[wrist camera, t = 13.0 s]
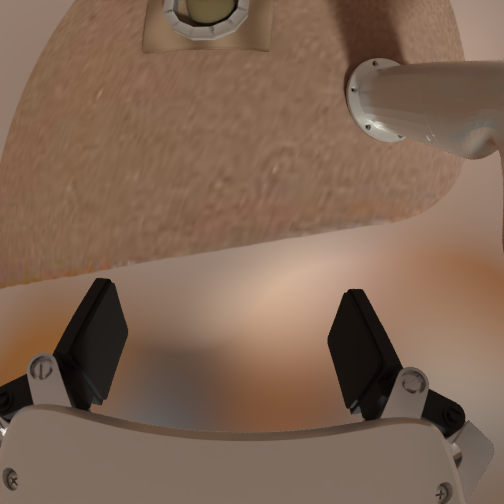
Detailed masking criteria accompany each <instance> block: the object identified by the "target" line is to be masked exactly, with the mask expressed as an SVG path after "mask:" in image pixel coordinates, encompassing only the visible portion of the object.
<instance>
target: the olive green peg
mask: <svg viewBox="0 0 504 504" xmlns="http://www.w3.org/2000/svg"><path fill="white" fill-rule="evenodd" d="M186 4H187V10H188V15H189V18H190V19H191V20H192V22H193V23H195V24H197V25H198V26H202V27H212V26H214V25H216V24H219V23H221V22H223V21H226V20H228V19H229V18H230V16H231V15H232V14H233V13H234V12H235V11H236V3H235V0H186Z"/></svg>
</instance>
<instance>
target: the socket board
mask: <svg viewBox="0 0 504 504" xmlns="http://www.w3.org/2000/svg"><path fill="white" fill-rule="evenodd" d="M235 3H236V11H235V12H234V13H233V14H232V15H231V16H230V18H229V19H228V20H226V21H223V22H221V23H219V24H216V25H214V26H212V27H202V26H198V25H197V24H195V23H193V22H192V20H191V19H190V18H189V15H188V10H187V4H186V0H149V2H148V8H147V14H146V21H145V29H144V37H143V46H142V52H143V53H145V54H146V53H154V52H164V51H177V50H196V49H231V50H251V51H263V52H269V50H270V39H271V27H272V16H273V4H274V0H235Z"/></svg>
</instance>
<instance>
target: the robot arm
mask: <svg viewBox="0 0 504 504" xmlns="http://www.w3.org/2000/svg"><path fill="white" fill-rule="evenodd" d="M372 63H373V64H374V66H373V64H372ZM351 89H353V92H352V91H351ZM346 99H347V104H348V108H349V111H350V113H351V116H352V117H353V119H354V121H355V122H356V124H357V125H358V126H359V127H360V128H361V129H362V130H363V131H364V132H365V133H366V134H368V135H369V136H371V137H373V138H375V139H378V140H381V141H385V142H397V141H401V140H403V139H405V138H410V139H413V140H416V141H419V142H421V143H424V144H427V145H430V146H433V147H435V148H438V149H441V150H443V151H446V152H448V153H451V154H454V155H456V156H459V157H462V158H465V159H471V160H472V159H473V160H475V159H481V158H484V157H487V156H489V155H491V154H492V153H494V152H495V151H497V150H499V153H500V157H501V165H502V176H503V226H502V245H503V252H504V59H494V60H483V61H451V62H430V63H417V64H407V65H401V64H399V63H397V62H395V61H393V60H390V59H386V58H375V59H370V60H367V61H364V62H363V63H361V64H359V65H358V66H357V67H356V68H355V69H354V70H353V72H352V73H351V75H350V77H349V80H348V83H347V89H346ZM366 125H367V128H365V126H366ZM127 336H128V328H127V325H126V321H125V319H124V315H123V312H122V309H121V305H120V301H119V298H118V294H117V291H116V287H115V284H114V283H112V282H111V280H110V279H104V278H96V280H95V281H94V282H93V284H92V286H91V287H90V289H89V290H88V292H87V294H86V296H85V297H84V299H83V300H82V302H81V304H80V305H79V307H78V309H77V310H76V312H75V314H74V315H73V317H72V319H71V321H70V322H69V324H68V326H67V328H66V330H65V332H64V334H63V335H62V337H61V339H60V341H59V343H58V345H57V347H56V349H55V351H54V353H53V355H51V354H49V353H41V354H38V355H36V356H34V357H33V358H32V359H31V360H30V362H29V364H28V366H27V374H25V375H23V376H21V377H19V378H17V379H15V380H13V381H11V382H9V383H7V384H5V385H3V386H1V387H0V504H465V503H466V501H467V500H468V498H469V497H470V495H471V494H472V492H473V491H474V489H475V488H476V486H477V484H478V483H479V481H480V479H481V478H482V476H483V474H484V472H485V471H486V469H487V467H488V465H489V463H490V461H491V459H492V458H493V454H494V447H493V444H492V443H491V441H490V440H489V439H488V438H487V437H486V436H485V435H484V434H483V433H482V432H481V431H480V430H479V429H478V428H476V427H475V426H474V425H473V424H472V423H471V422H470V421H467V422H466V421H465V413H464V410H463V409H462V407H461V406H460V405H459V404H457V403H456V402H454V401H452V400H450V399H448V398H446V397H444V396H442V395H440V394H438V393H436V392H434V391H433V390H430V389H429V381H428V378H427V377H426V375H425V374H424V373H423V372H422V371H420V370H419V369H417V368H414V367H406V368H404V369H403V367H402V365H401V363H400V361H399V358H398V356H397V354H396V352H395V350H394V348H393V346H392V344H391V342H390V340H389V338H388V336H387V333H386V332H385V330H384V328H383V326H382V324H381V322H380V321H379V319H378V317H377V315H376V313H375V311H374V309H373V307H372V305H371V304H370V302H369V300H368V298H367V296H366V294H365V293H364V291H363V290H362V289H349V290H348V291H347V293H344V294H343V297H342V300H341V303H340V305H339V308H338V311H337V314H336V317H335V319H334V322H333V325H332V327H331V330H330V333H329V335H328V346H329V350H330V353H331V356H332V360H333V363H334V366H335V370H336V374H337V377H338V381H339V384H340V388H341V391H342V395H343V398H344V402H345V405H346V408H348V409H349V408H350V412H351V414H357V413H362V417H363V420H362V422H359V423H352V424H346V425H340V426H332V427H324V428H316V429H306V430H295V431H280V432H215V431H200V430H188V429H179V428H170V427H163V426H156V425H149V424H143V423H138V422H132V421H128V420H122V419H118V418H113V417H109V416H104V415H100V414H96V413H92V412H91V410H90V406H91V403H93V404H98V405H102V402H103V400H105V399H107V397H108V393H109V390H110V386H111V383H112V380H113V377H114V374H115V371H116V368H117V365H118V362H119V359H120V356H121V353H122V350H123V347H124V345H125V342H126V339H127Z"/></svg>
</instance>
